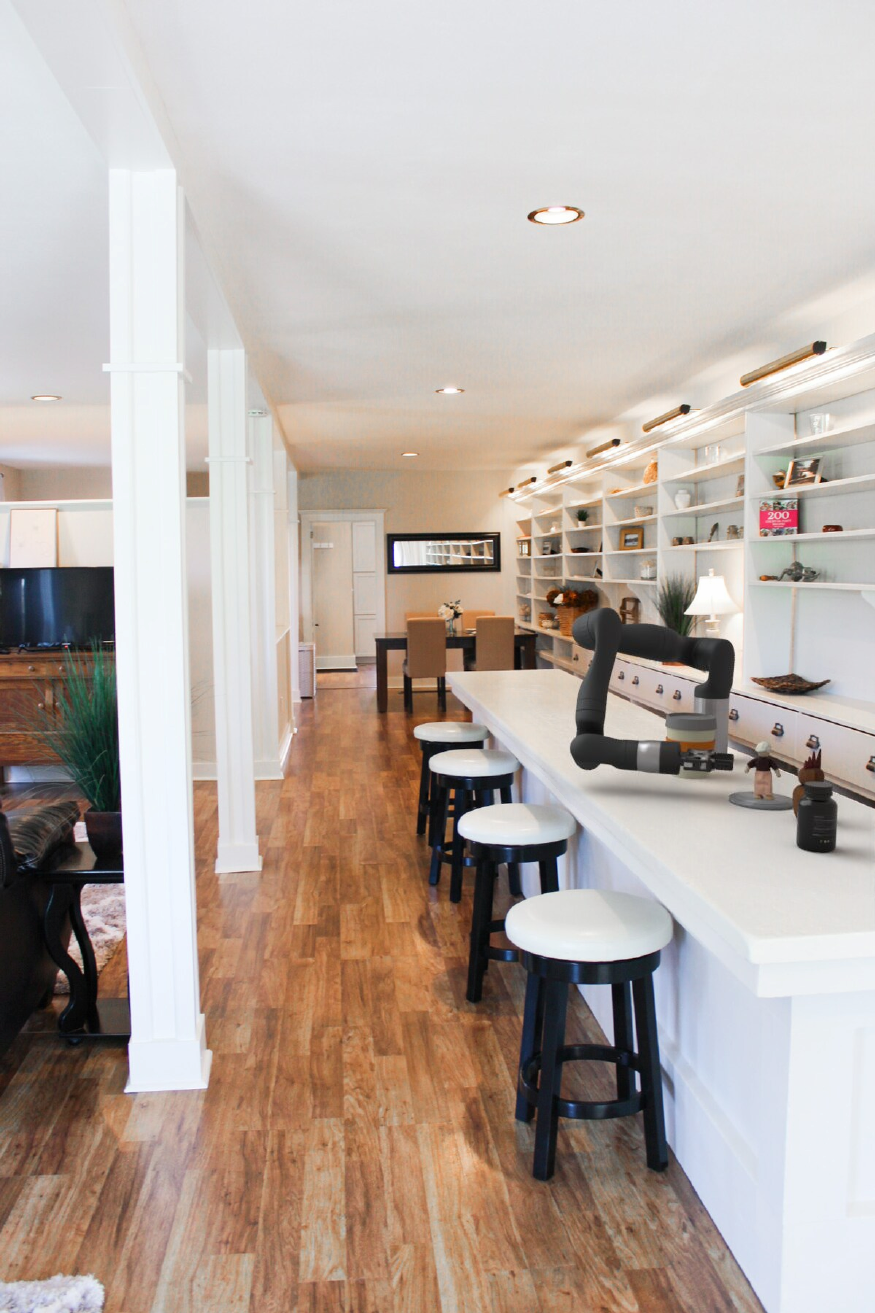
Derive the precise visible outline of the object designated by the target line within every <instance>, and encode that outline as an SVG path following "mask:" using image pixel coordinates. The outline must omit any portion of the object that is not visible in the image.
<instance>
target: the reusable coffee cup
mask: <svg viewBox="0 0 875 1313" xmlns="http://www.w3.org/2000/svg"><path fill="white" fill-rule="evenodd" d="M665 716H666V718H665V724H664V726H665V727H666V736H665V741H674V742H680V743H681V751H682V752H687V749H689V748H691V749H703V750H714V746H715V739H714V735H715V729H717V722H716V716H713V715H709V714H702V713H694V712H682V711H681V712H671V713H667V714H666V715H665ZM702 754H703V753H702ZM700 767H701V766H700ZM671 776H672V777H675V778H679V777H681V778H680V779H685V778H687V779H686V780H702V778H703V779H707V778H708V777H709V772H702V771H690V770H687V771H686V770H683V766H681V767H680V773H679V775H671ZM706 777H707V778H706Z"/></svg>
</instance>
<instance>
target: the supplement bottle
mask: <svg viewBox="0 0 875 1313" xmlns="http://www.w3.org/2000/svg"><path fill="white" fill-rule="evenodd" d="M833 789H834V788H833V784H831V783H828V782H825V781H824V782H806V783H805V786H804V794H805V796H803V797H801V798H800V799H799V801H798V811H797V818H796V835H795V836H796V837H795V841H796V842H795V843H796V846H797V848H799V849H801V850H803V851H806V852H809V853H816V854H827V853H832V852H834V851H835V850H836V848H837V834H838V833H837V831H838V829H837V828H838V811H839V810H838V808H839V806H838V805H839V804H838V803H837V801H836V800H835V799H834V798H832V796H833V795H834V792H833Z"/></svg>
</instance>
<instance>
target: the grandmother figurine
mask: <svg viewBox="0 0 875 1313" xmlns="http://www.w3.org/2000/svg"><path fill="white" fill-rule="evenodd" d="M754 751H755V752H756V753H757V754H758V756H759V757H758V756H757V757H754V758H752V759H750V760H749V761H748V762H747V763H746V766H745V768H744V770H743V772H744V773H745V774H749V773H750V770H751V769H755V770H754V776H753V778H754V779H753V787H754V788H753V792H754V794H755V795H754V798H755V799H762V798H763V796H762V795H766V797H765V800H774V799H775V797H774V796H773V773H772V771H774V774H775V777H776V778H781V777H782V774H781V773H780V772H781V771H780V768H779V766H778V764H777V763H776V762H775V761H774V759H772V758H770V757H769V756H770V753H771V752H772V745H771V743H770V742H769V741H764V740H763V741H760V742H759V743H758V744H757V745H756V746H755V750H754ZM771 769H772V771H771Z"/></svg>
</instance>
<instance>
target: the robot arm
mask: <svg viewBox="0 0 875 1313" xmlns="http://www.w3.org/2000/svg"><path fill="white" fill-rule="evenodd" d="M570 632H571V635H572V638H573V640H574V641H575V643H576V644H577V645H578V646H579V647H581V648H583V649H585V650H587V651H594V652H593V657H592V660H591V662H590V665H589V667H588V670H587V671H586V674H585V676H583V679H582V682H581V684H580V686H579V688H578V691H577V698H576V704H575V705H576V707H575V717H574V718H575V719H574V720H575V726H576V733H575V737H574V738H573V739H572V740H571V742H570V744H569V753H570V755H571V757H572V759H573V761H574V763H575V764H576V766H578V768H580V769H582V770H584V771H593V770H595V769H597V768H598V767H599V766H600V765H608V766H611V767H613V768H615V769H618V770H623V771H632V772H641V773H642V772H643V773H646V774H647V773H648V774H656V775H658V774H659V775H670V776H672V775H679V773H680V767H681V766H683V770H686V771H687V770H690V771H702V772H708V773H712V772H713V771H714V772H715V771H724V772H725V771H727V772H732V771H733V770H734V762H735V755H734V754H733V753H728V750H729V746H728V745H729V724H730V721H729V720H730V719H729V718H730V697H731V696H730V694H731V690H732V689H733V682H734V674H735V664H736V663H735V662H736V653H735V647H734V645H733V642H731V641H730V640H729V639H726V638H720V637H719V638H718V637H708V636H707V637H704V636H703V637H702V636H701V637H700V636H699V637H697V636H694V637H693V636H685V635H681V634H679V633H678V632H677V631H675V630H674V629H672V628H670V627H668V626H667V627H666V626H664V625H660V624H659V625H658V624H655V623H648V622H647V623H645V622H644V623H641V622H639V623H625V624H623V622H622V618H621V616H620V615H619V613H618V612H617V611H616V610H615V609H613V608H611V607H608V606H607V607H601V608H597V609H595V610H592V611H588V612H586V613H583V614H581V615H580V616H579V617H577V618H576V619H575V620H574V621H573V623H572V625H571V631H570ZM618 653H619V654H621V655H622V654H623V655H627V656H630V657H636V658H640V659H645V660H648V661H654V662H659V663H678V664H680V665H684V666H687V667H690V668H691V669H695V670H698V671H701V672H707V673H708V676H707V679H706V681H704V682H703V683H701V684H696V686H694V689H693V713H702V714H709V715H713V716H716V722H717V729H715V735H714V739H715V746H714V750H703V749H691V748H689V749H687V752H682V751H681V743H680V742H674V741H666V740H657V739H656V740H654V739H653V740H652V739H644V740H643V739H642V740H641V739H640V740H638V739H620V738H619V739H618V738H614V737H613V736H612V737H610V736H607V735H606V736H605V730H604V729H605V722H606V716H607V715H606V714H607V701H608V692H609V687H610V682H611V678H612V673H613V669H614V665H615V663H616V658H617V655H618ZM702 753H703V754H702ZM700 766H701V767H700Z"/></svg>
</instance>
